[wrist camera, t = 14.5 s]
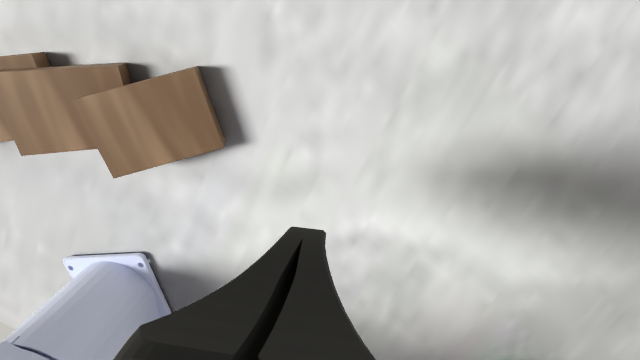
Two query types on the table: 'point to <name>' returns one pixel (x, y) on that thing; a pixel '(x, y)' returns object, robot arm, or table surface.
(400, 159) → the table surface
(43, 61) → the domino
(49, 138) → the domino
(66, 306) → the robot arm
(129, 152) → the domino
